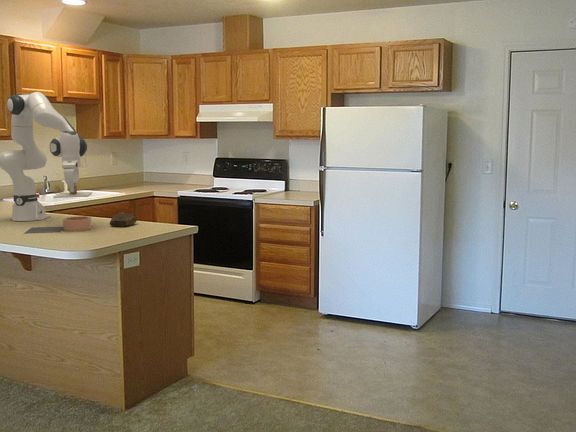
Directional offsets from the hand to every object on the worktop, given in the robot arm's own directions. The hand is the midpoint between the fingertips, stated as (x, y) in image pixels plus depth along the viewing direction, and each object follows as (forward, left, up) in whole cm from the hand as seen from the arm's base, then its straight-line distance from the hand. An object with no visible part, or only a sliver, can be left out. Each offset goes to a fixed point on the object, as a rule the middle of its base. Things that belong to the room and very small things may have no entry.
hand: (73, 191), depth 323 cm
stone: (-18, +18, -20) cm, 33 cm away
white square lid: (0, 0, -2) cm, 2 cm away
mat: (+4, -14, -20) cm, 24 cm away
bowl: (-1, +1, -20) cm, 20 cm away
